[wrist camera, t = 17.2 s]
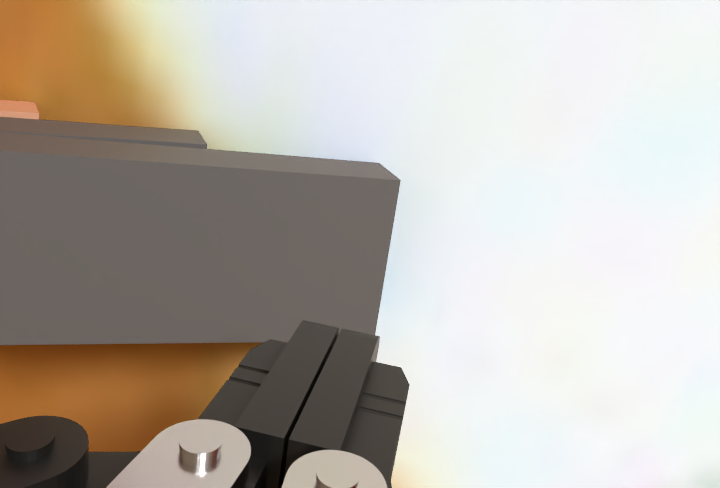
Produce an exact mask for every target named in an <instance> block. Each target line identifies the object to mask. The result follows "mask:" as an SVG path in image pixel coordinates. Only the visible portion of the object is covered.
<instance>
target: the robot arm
mask: <svg viewBox="0 0 720 488" xmlns="http://www.w3.org/2000/svg"><path fill="white" fill-rule="evenodd" d="M379 339H380V337H379V336H375V335H371V334H366V333H361V332H357V331H352V330H347V329H342V330H341V332H340V328H337V327H333V326H328V325H323V324H319V323H314V322H309V321H305V320H303V321H302V322H301V323H300V325H299V326H298V328H297V329H296V331H295V332H294V334H293V336H292V337H291V339H290V340H289V342H288V343H286V342H282V341H277V340H272V339H269V340H268V341H266V342H264V343H262V344H260V345H258V346H256V347H254V348H252V349H250V351H249V352H248V353H247V355H246V356H245V357H244V359H243V360H242V361H241V362H240V364H239V367H237V368H236V369H235V370H234V372H233V373H232V374H231V376H230V378H229V380H227V381H226V382H225V384H224V385H223V386H222V388H221V389H220V390H219V392H218V393H217V394H216V396H215V397H214V398H213V400H212V401H211V402H210V404H209V405H208V406H207V408H206V409H205V410H204V412H203V413H202V414H201V416H200V417H199V418H198V420H189V421H184V422H181V423H178V424H175V425H172V426H170V427H168V428H166V429H165V430H163V431H162V432H160V433H159V434H158V435H157V436H156V437H155V438H154V439H153V440H152V441H151V442H150V443H149V444H148V445H147V446H146V447H145V448H144V449H143V450H142V451H138V452H89V441H88V435H87V433H86V431H85V430H84V428H83V427H82V426H81V425H79V424H78V423H76V422H74V421H72V420H70V419H66V418H63V417H56V416H34V417H27V418H22V419H18V420H14V421H11V422H7V423H3V424H0V488H392V487H391V476H392V471H393V466H394V461H395V456H396V451H397V446H398V441H399V435H400V430H401V425H402V420H403V415H404V410H405V405H406V400H407V394H408V389H409V383H408V381H407V379H406V377H405V375H404V373H403V371H402V368H400V367H396V366H391V365H387V364H382V363H377V362H376V359H377V353H378V347H379Z"/></svg>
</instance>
